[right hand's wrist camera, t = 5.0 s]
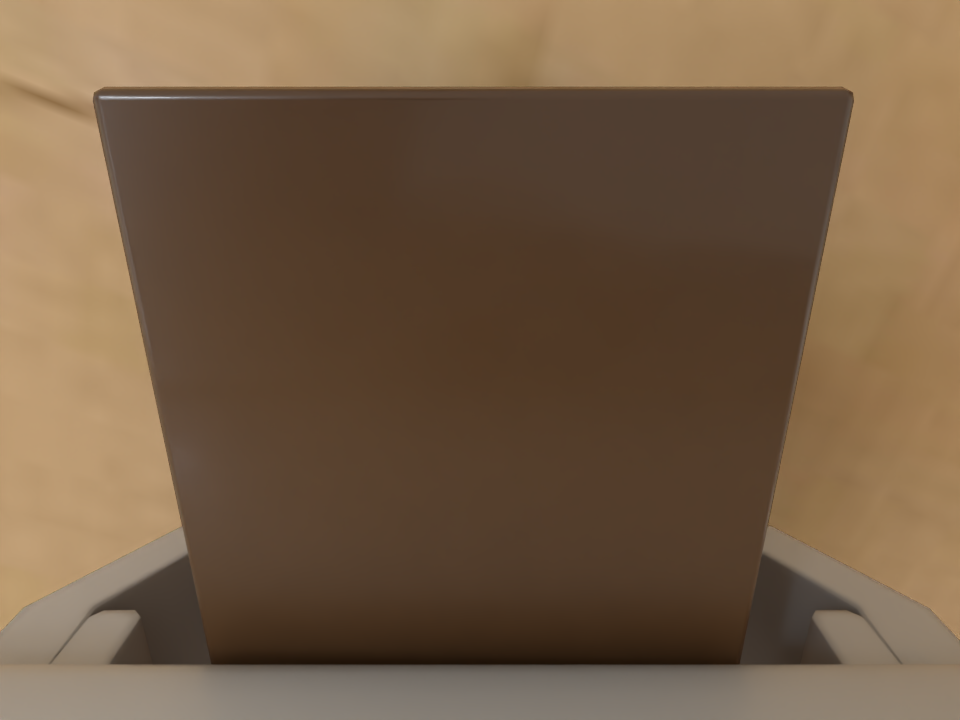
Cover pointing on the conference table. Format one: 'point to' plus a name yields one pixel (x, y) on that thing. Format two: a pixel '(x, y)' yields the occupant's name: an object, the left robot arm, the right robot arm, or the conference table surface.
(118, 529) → the conference table surface
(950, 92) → the conference table surface
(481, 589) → the beam
